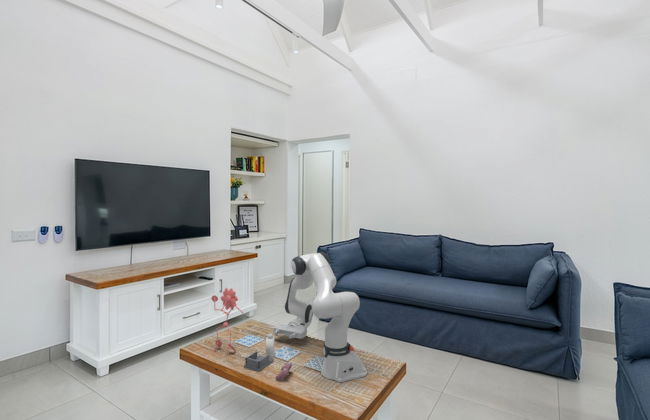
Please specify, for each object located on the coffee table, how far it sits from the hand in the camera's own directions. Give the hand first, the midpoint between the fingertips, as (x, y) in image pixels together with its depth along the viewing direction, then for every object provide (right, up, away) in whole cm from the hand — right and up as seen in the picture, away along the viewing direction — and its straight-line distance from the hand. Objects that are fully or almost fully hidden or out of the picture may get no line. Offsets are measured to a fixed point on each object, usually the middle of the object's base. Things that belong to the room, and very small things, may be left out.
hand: (282, 335), depth 185 cm
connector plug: (-5, -7, -10) cm, 13 cm away
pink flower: (-30, -7, -2) cm, 30 cm away
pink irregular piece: (+5, -8, -30) cm, 31 cm away
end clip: (-9, -7, -19) cm, 22 cm away
